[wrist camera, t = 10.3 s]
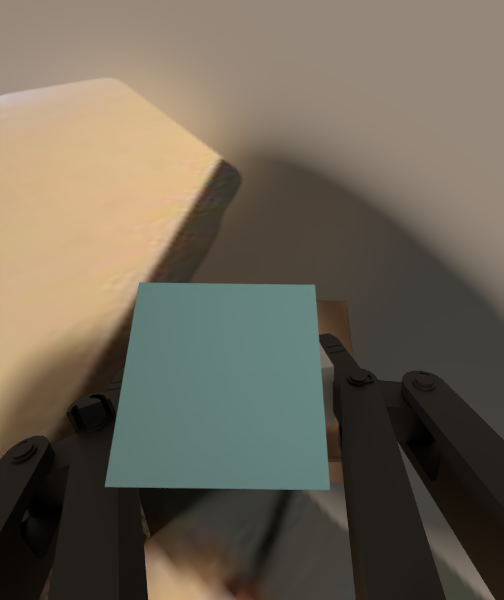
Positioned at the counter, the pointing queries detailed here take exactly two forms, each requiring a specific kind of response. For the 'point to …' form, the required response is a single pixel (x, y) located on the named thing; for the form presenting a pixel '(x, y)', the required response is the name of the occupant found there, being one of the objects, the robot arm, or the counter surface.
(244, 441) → the teal block
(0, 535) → the robot arm
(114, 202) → the counter surface
